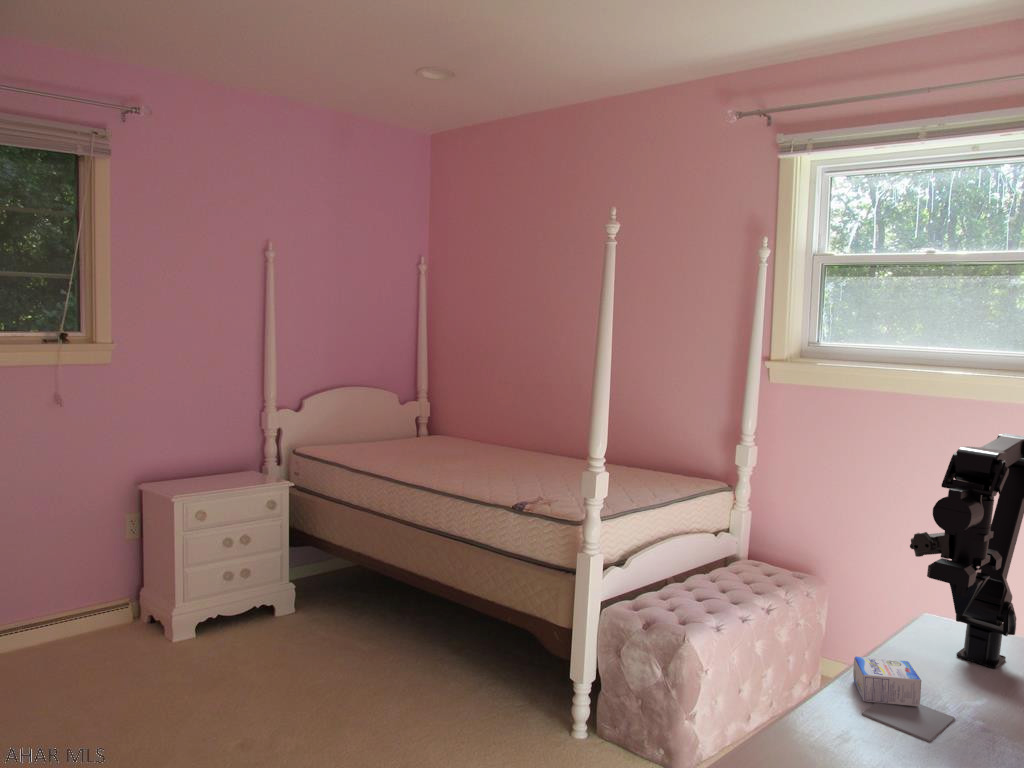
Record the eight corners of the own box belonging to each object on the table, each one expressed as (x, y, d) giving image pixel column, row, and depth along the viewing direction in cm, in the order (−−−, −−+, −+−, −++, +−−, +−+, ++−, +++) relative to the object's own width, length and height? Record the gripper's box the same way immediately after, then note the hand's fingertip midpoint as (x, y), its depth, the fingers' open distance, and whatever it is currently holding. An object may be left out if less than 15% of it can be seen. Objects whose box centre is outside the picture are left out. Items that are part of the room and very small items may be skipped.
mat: (889, 694, 135) (889, 692, 135) (954, 719, 128) (955, 717, 128) (861, 714, 128) (861, 712, 128) (929, 742, 121) (929, 740, 121)
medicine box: (922, 680, 130) (863, 674, 132) (920, 707, 130) (861, 701, 132) (909, 660, 137) (853, 655, 139) (907, 686, 138) (852, 681, 140)
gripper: (939, 506, 150) (928, 589, 152) (899, 520, 137) (889, 611, 139) (1007, 520, 142) (996, 608, 144) (973, 536, 129) (961, 633, 131)
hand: (959, 614), depth 140 cm, fingers closed
